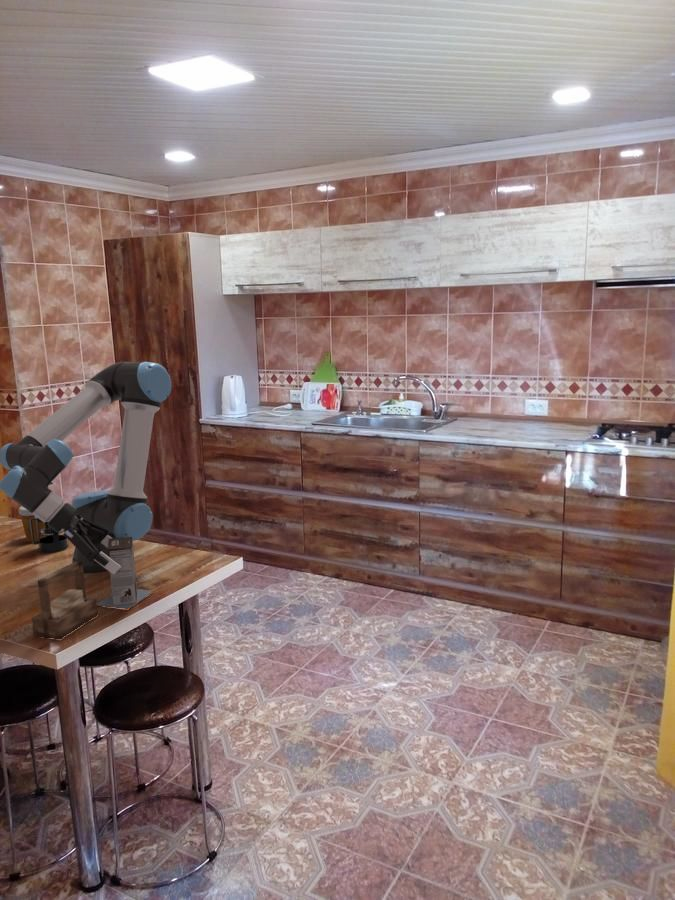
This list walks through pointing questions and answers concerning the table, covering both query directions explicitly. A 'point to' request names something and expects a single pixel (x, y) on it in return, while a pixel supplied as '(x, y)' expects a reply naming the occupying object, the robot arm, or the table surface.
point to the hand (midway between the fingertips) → (120, 561)
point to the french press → (49, 538)
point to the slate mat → (109, 603)
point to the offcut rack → (63, 605)
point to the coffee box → (123, 571)
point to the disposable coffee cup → (26, 524)
